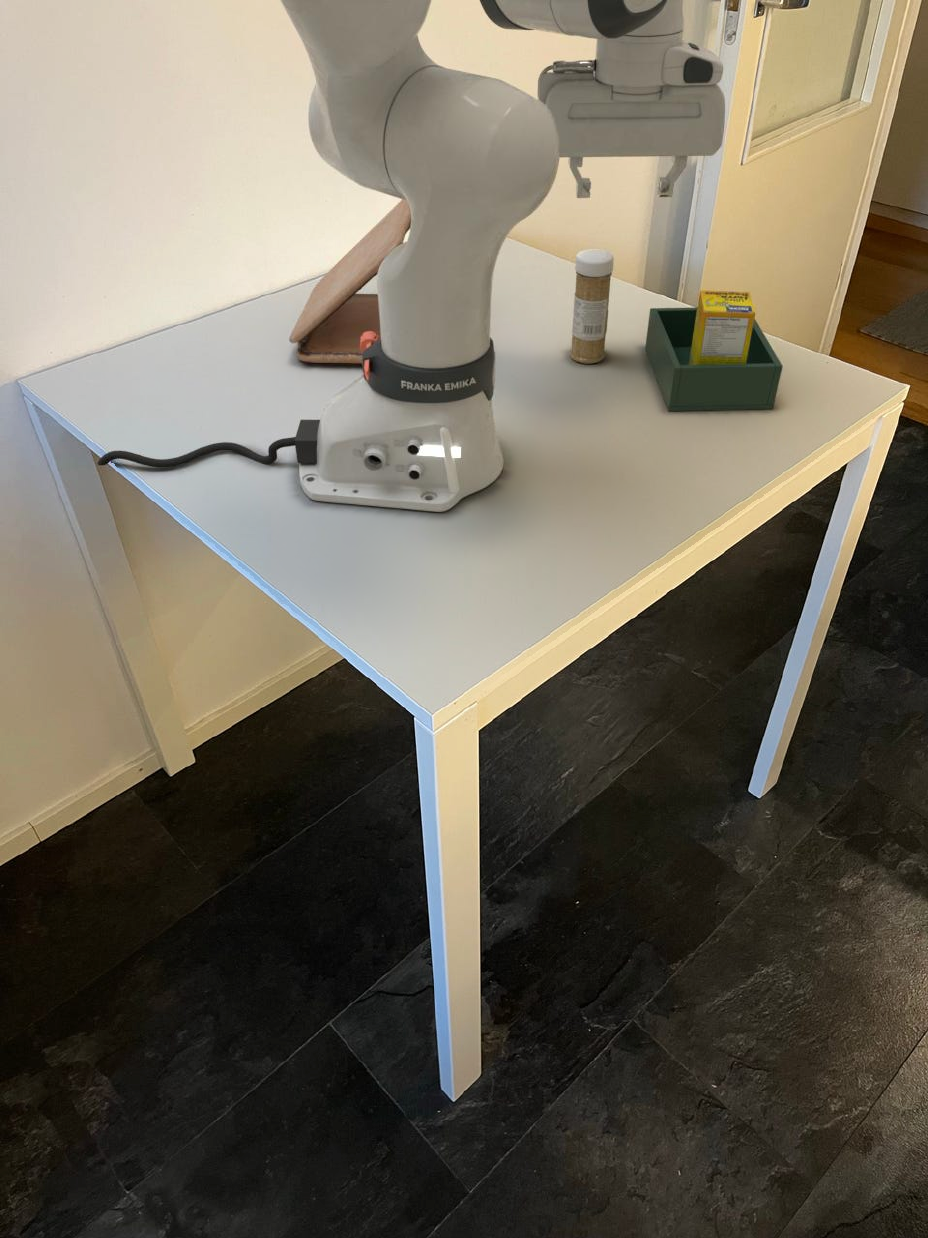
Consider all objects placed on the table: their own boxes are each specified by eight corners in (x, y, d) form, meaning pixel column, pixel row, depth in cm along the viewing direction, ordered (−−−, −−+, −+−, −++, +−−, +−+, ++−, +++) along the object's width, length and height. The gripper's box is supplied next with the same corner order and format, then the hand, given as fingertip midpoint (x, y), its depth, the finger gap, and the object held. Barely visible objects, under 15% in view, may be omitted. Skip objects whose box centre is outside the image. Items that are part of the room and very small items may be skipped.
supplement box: (734, 375, 120) (750, 290, 113) (739, 398, 115) (757, 311, 108) (686, 373, 120) (699, 288, 113) (689, 396, 116) (703, 310, 109)
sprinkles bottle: (606, 350, 126) (616, 248, 118) (601, 366, 123) (611, 262, 114) (572, 347, 127) (579, 245, 118) (566, 363, 124) (573, 259, 115)
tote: (668, 411, 115) (674, 368, 111) (645, 348, 127) (650, 307, 123) (773, 409, 115) (782, 365, 111) (739, 346, 127) (747, 305, 123)
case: (318, 301, 139) (305, 185, 129) (462, 304, 138) (460, 188, 127) (286, 366, 124) (268, 241, 113) (448, 371, 123) (445, 245, 112)
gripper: (541, 67, 99) (535, 206, 108) (739, 65, 99) (716, 204, 108) (536, 54, 103) (531, 188, 113) (725, 52, 104) (705, 186, 113)
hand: (623, 196), depth 110 cm, fingers open, 8 cm apart
